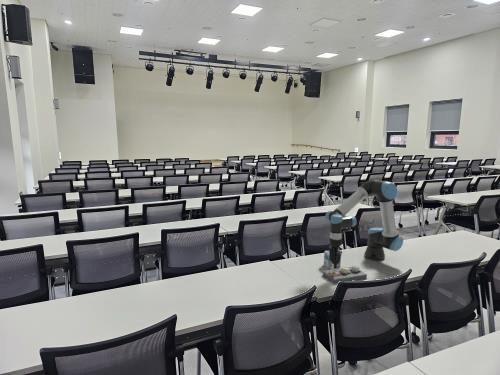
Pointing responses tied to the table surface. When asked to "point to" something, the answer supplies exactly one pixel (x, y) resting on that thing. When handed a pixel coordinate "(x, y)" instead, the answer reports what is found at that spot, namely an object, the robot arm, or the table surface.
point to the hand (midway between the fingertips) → (333, 272)
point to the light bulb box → (327, 260)
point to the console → (344, 275)
